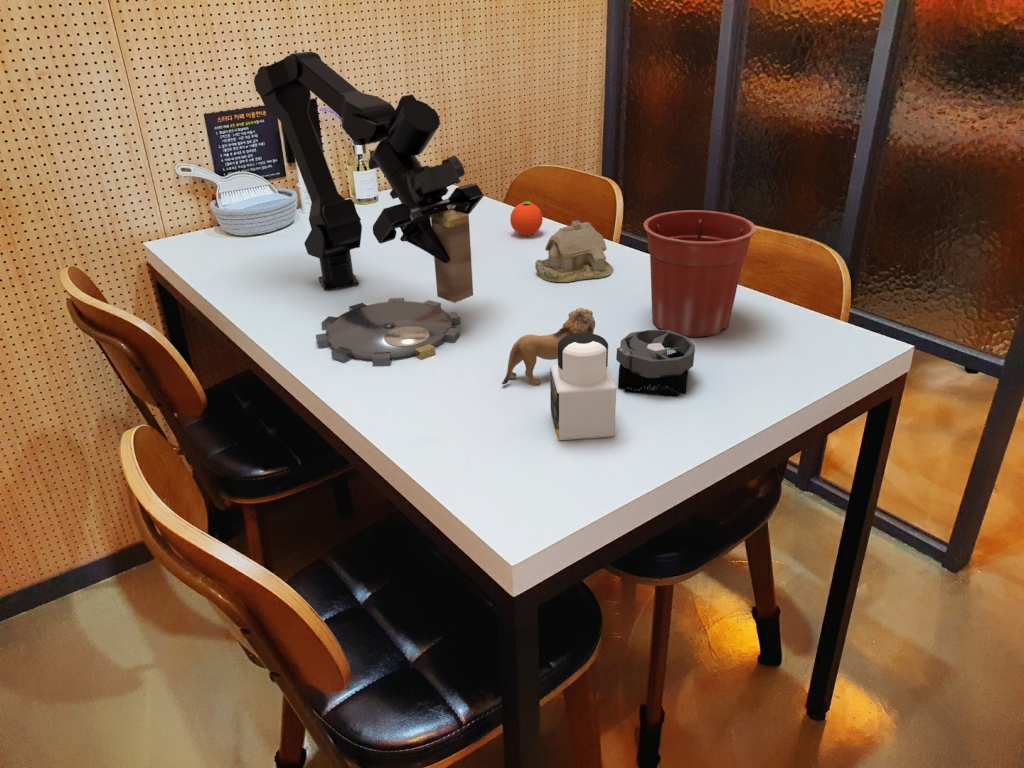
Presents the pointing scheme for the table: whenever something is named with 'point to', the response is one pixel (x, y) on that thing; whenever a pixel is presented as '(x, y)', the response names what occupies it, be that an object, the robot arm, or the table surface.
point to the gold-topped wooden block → (453, 256)
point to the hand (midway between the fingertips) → (458, 258)
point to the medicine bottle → (582, 388)
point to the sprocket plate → (389, 331)
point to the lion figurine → (546, 344)
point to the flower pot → (695, 268)
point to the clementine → (526, 218)
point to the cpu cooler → (655, 361)
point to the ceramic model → (574, 255)
